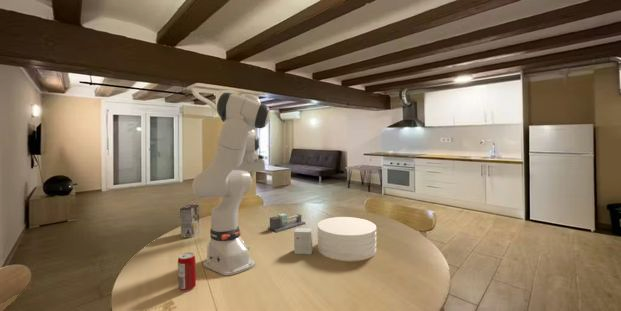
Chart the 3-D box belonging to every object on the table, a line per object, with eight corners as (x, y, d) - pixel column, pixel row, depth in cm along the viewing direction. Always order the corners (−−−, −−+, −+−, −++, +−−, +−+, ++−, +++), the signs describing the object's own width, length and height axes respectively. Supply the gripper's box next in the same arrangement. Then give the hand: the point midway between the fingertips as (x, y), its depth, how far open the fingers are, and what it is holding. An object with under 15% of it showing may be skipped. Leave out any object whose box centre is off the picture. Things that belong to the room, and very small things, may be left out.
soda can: (198, 283, 96) (197, 251, 95) (192, 291, 90) (191, 257, 90) (182, 283, 96) (182, 251, 95) (175, 292, 90) (174, 258, 89)
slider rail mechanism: (305, 223, 165) (305, 212, 165) (276, 232, 150) (276, 220, 149) (296, 220, 171) (295, 210, 171) (267, 228, 156) (267, 217, 156)
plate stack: (377, 264, 111) (378, 237, 110) (312, 258, 116) (312, 233, 116) (374, 239, 138) (375, 218, 138) (322, 236, 144) (322, 215, 143)
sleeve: (287, 223, 158) (287, 214, 158) (282, 225, 155) (282, 215, 155) (282, 222, 161) (282, 213, 161) (277, 223, 158) (277, 214, 158)
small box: (312, 249, 125) (312, 228, 125) (311, 254, 120) (311, 232, 119) (296, 249, 126) (295, 227, 126) (294, 254, 121) (293, 231, 120)
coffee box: (188, 232, 151) (188, 204, 150) (199, 232, 151) (199, 204, 150) (180, 237, 142) (179, 208, 141) (192, 237, 142) (191, 208, 141)
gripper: (235, 157, 146) (235, 182, 147) (266, 156, 160) (266, 178, 161) (230, 157, 151) (230, 181, 151) (260, 155, 165) (260, 177, 166)
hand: (249, 179), depth 156 cm, fingers closed
